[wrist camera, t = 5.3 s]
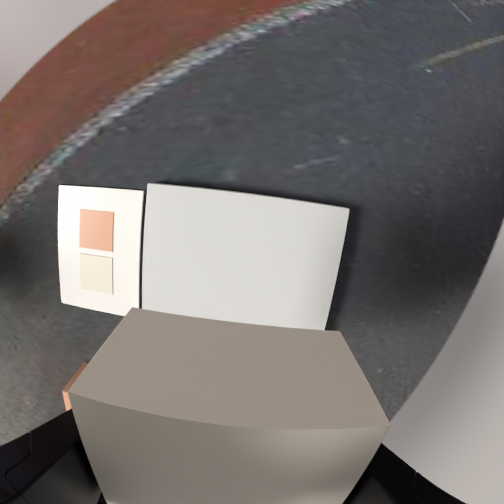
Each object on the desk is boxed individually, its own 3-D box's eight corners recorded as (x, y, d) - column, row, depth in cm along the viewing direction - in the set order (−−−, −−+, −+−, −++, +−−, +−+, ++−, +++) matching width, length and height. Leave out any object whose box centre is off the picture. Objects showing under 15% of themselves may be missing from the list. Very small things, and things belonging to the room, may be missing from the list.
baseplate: (308, 369, 20) (311, 378, 19) (147, 351, 20) (143, 358, 19) (344, 207, 17) (349, 209, 16) (153, 182, 17) (147, 183, 16)
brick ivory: (297, 459, 10) (311, 543, 6) (143, 443, 10) (117, 524, 6) (339, 331, 9) (390, 425, 5) (132, 307, 8) (67, 391, 4)
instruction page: (139, 317, 19) (138, 318, 19) (62, 301, 19) (61, 303, 18) (144, 190, 17) (142, 191, 17) (60, 185, 17) (58, 185, 17)
